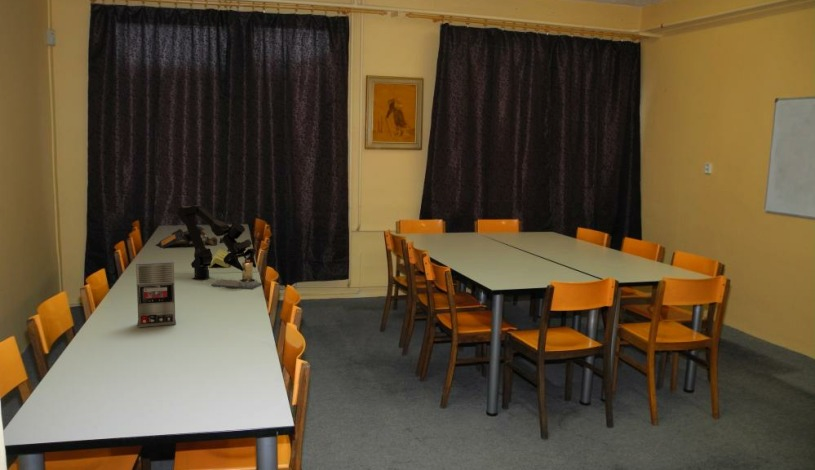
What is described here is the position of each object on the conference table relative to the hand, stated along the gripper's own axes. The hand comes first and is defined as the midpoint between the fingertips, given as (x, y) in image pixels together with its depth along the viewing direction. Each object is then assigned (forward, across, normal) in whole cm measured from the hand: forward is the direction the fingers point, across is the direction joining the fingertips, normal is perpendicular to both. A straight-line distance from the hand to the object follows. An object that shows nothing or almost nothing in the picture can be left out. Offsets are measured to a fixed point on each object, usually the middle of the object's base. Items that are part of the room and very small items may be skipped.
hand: (249, 268), depth 313 cm
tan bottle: (+5, 0, +7) cm, 8 cm away
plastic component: (-28, +32, +41) cm, 59 cm away
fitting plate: (+1, -2, +11) cm, 12 cm away
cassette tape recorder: (+15, -68, -2) cm, 70 cm away
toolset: (-74, +70, +88) cm, 135 cm away
